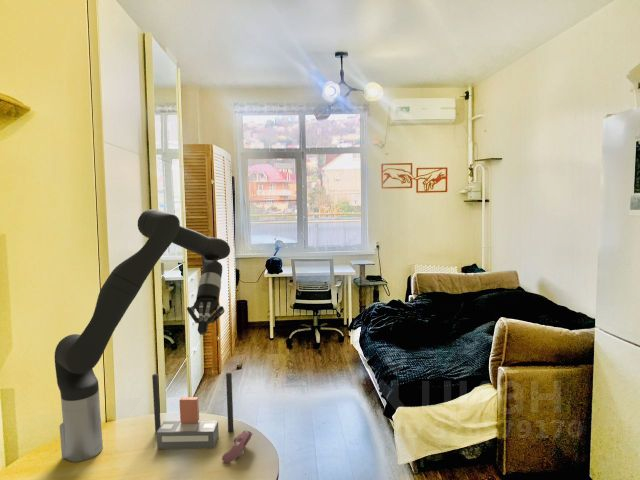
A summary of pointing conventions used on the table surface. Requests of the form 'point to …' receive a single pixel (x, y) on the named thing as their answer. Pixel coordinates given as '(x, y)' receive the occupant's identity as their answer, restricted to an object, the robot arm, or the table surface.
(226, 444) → the table surface
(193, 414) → the block
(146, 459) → the table surface
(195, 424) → the breaker block
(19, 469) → the table surface
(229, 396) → the cord posts
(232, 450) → the video game controller
